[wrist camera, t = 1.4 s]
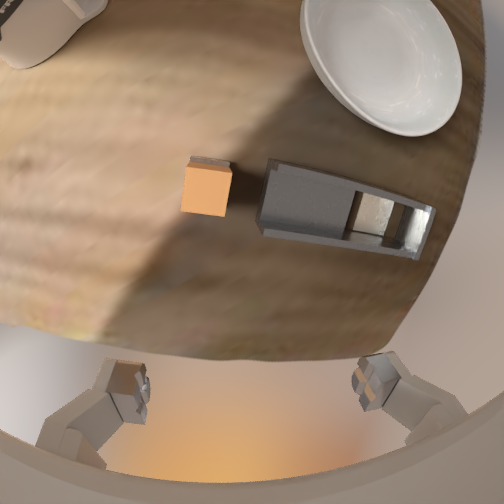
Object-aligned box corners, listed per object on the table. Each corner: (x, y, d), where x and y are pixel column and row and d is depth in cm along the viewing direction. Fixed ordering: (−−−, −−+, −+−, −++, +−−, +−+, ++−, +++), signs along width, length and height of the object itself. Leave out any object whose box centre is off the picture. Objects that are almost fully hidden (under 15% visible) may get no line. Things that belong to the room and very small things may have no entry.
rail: (268, 158, 28) (280, 164, 23) (413, 198, 32) (436, 209, 28) (255, 220, 30) (263, 238, 26) (397, 244, 35) (418, 260, 31)
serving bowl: (281, 120, 26) (302, 118, 20) (283, -32, 17) (301, -60, 11) (426, 144, 29) (461, 153, 23) (422, 15, 20) (454, 7, 14)
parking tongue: (191, 155, 26) (190, 156, 25) (229, 161, 27) (229, 162, 26) (184, 202, 28) (183, 204, 27) (221, 206, 29) (221, 209, 28)
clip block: (189, 161, 26) (186, 166, 22) (229, 167, 26) (232, 173, 23) (184, 199, 27) (180, 211, 24) (222, 204, 28) (224, 216, 24)
